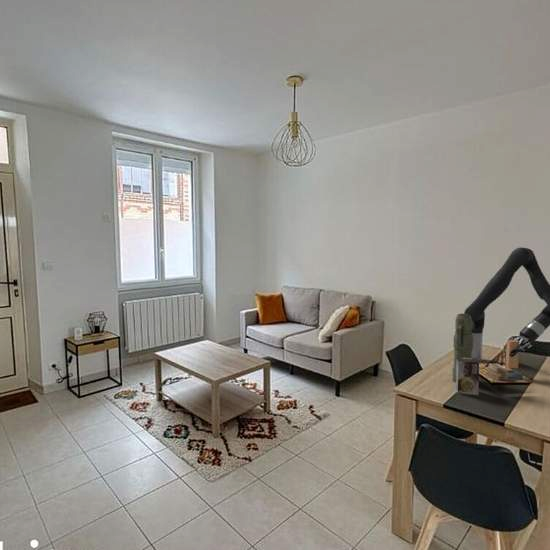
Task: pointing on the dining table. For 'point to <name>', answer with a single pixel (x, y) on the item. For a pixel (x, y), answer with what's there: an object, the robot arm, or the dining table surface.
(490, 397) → the dining table surface
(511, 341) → the board
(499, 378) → the offcut pile
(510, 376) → the rack
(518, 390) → the dining table surface
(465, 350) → the thermos
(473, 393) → the coffee box
